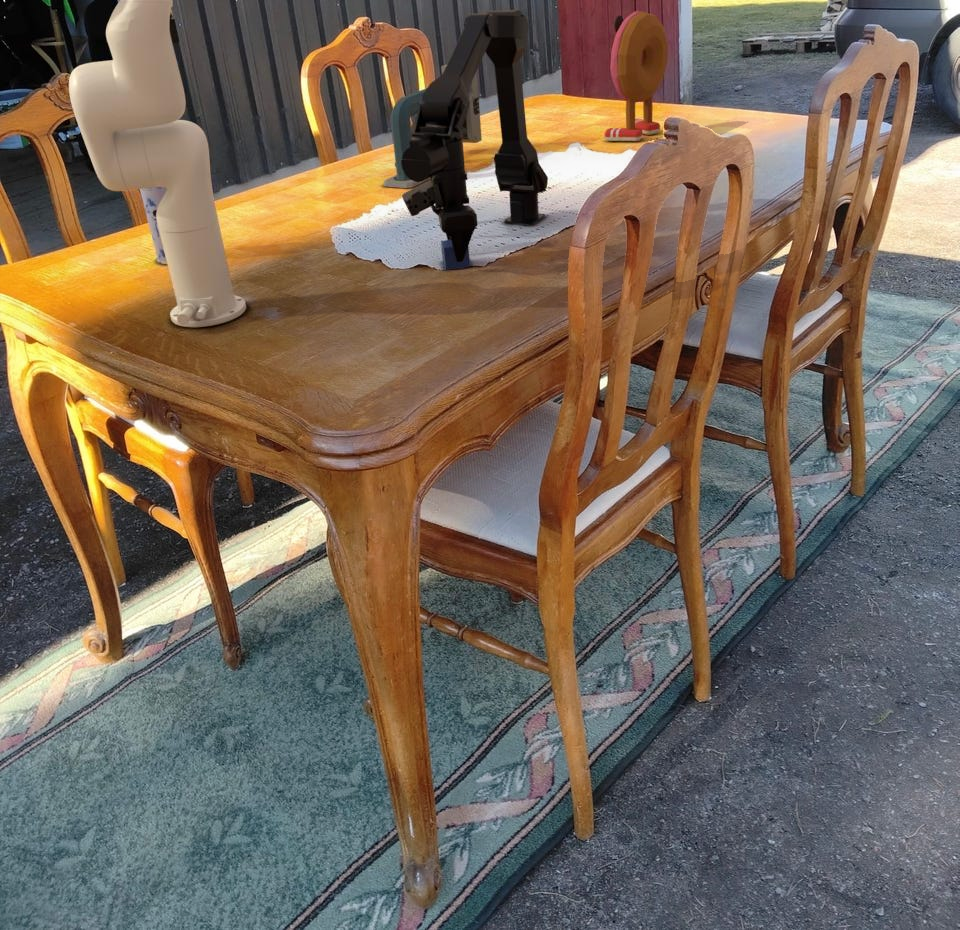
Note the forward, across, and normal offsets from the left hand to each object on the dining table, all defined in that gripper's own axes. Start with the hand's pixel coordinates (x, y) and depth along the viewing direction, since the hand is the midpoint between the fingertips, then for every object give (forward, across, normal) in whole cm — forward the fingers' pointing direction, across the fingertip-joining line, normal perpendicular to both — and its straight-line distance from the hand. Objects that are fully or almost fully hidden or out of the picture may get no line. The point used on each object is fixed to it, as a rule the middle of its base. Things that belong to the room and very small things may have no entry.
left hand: (167, 46), depth 174 cm
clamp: (+39, -48, +51) cm, 80 cm away
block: (+39, +25, +46) cm, 65 cm away
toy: (+39, -58, +106) cm, 127 cm away
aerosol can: (+39, 0, -7) cm, 39 cm away
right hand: (+36, +25, +46) cm, 63 cm away
